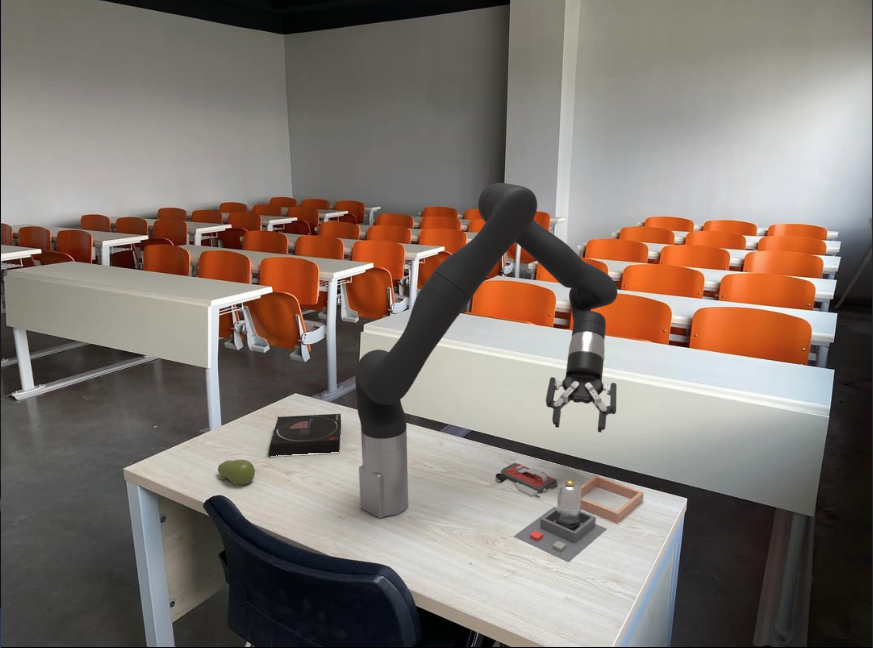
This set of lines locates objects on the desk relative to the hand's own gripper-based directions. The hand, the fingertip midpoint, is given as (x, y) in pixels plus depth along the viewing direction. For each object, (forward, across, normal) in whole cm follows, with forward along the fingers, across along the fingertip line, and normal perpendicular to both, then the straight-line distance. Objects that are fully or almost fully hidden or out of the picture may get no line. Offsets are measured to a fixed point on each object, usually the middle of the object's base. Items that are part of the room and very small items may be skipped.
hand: (578, 428), depth 135 cm
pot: (+12, +6, +12) cm, 18 cm away
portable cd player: (+4, -69, +20) cm, 72 cm away
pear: (+20, -74, +4) cm, 77 cm away
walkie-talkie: (+11, -8, +14) cm, 20 cm away
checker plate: (+22, -1, +2) cm, 22 cm away
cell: (+19, 0, +3) cm, 19 cm away
